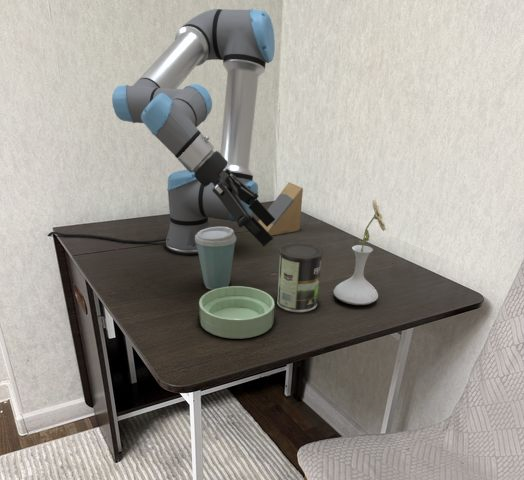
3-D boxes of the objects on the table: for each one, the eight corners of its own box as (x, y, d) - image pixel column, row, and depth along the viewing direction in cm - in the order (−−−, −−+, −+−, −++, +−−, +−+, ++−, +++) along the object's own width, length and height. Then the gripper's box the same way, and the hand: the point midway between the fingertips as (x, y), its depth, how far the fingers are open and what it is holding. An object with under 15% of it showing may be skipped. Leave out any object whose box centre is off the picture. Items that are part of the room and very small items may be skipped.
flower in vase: (367, 313, 118) (384, 212, 105) (325, 301, 123) (336, 203, 110) (385, 295, 127) (403, 200, 114) (345, 284, 132) (358, 192, 119)
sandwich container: (250, 229, 169) (251, 186, 161) (286, 223, 176) (288, 181, 168) (263, 237, 163) (264, 192, 155) (299, 230, 170) (303, 187, 162)
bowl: (185, 326, 110) (184, 307, 107) (225, 298, 123) (225, 280, 120) (250, 347, 103) (250, 327, 100) (285, 315, 116) (287, 296, 113)
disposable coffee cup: (205, 296, 123) (203, 240, 115) (190, 280, 131) (187, 227, 123) (242, 289, 127) (243, 234, 119) (226, 274, 135) (225, 222, 127)
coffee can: (319, 296, 125) (324, 245, 118) (314, 315, 116) (320, 260, 109) (280, 292, 127) (283, 240, 119) (273, 309, 118) (276, 255, 110)
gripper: (207, 161, 93) (280, 239, 100) (223, 139, 114) (282, 206, 121) (181, 188, 96) (254, 262, 103) (201, 162, 117) (261, 225, 124)
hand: (269, 232), depth 112 cm, fingers open, 13 cm apart
